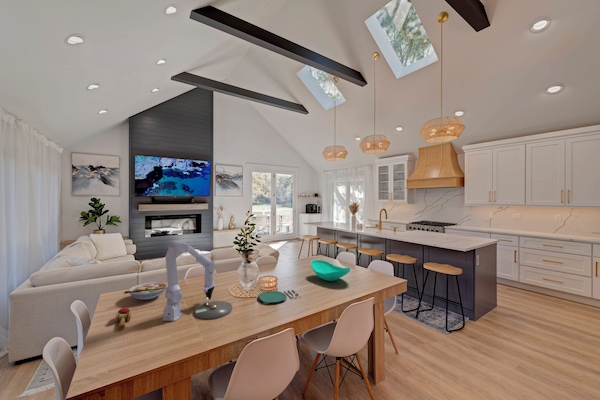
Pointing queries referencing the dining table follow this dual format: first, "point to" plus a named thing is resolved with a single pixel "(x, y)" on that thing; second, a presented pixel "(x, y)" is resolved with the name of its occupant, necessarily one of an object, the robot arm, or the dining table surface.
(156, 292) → the ramen bowl
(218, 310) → the tuner dial
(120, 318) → the kendama
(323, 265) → the table top decor
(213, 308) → the brass vanity light
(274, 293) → the cutlery set
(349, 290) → the dining table surface
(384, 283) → the dining table surface
